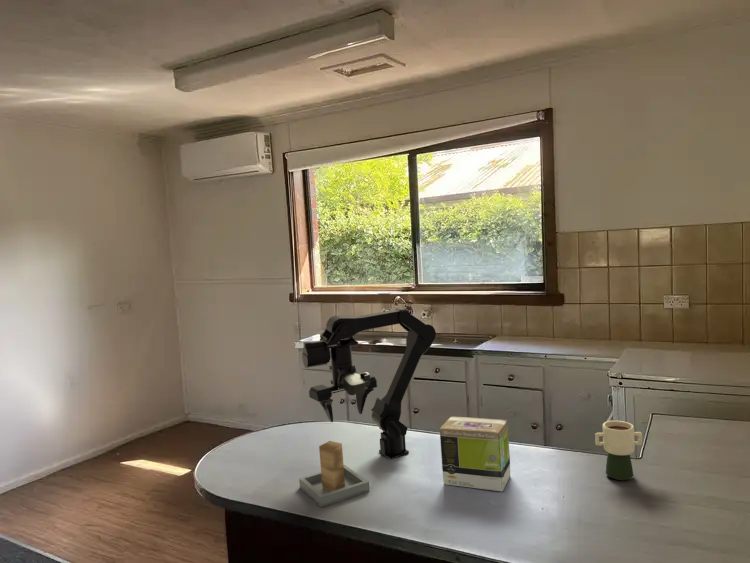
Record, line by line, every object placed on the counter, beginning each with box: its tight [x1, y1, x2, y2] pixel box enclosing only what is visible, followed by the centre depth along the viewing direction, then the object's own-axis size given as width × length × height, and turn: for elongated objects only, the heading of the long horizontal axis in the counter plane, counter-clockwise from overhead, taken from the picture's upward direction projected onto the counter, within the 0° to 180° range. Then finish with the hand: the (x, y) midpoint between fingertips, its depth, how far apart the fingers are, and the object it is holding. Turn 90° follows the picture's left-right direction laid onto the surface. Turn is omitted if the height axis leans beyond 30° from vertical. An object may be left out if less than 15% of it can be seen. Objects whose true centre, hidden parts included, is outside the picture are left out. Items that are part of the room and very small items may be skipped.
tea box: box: [439, 415, 511, 492], centre depth 144 cm, size 15×10×15 cm, turn 65°
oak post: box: [318, 440, 345, 491], centre depth 144 cm, size 4×4×11 cm
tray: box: [299, 464, 370, 508], centre depth 145 cm, size 13×13×2 cm
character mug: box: [594, 420, 643, 481], centre depth 141 cm, size 11×7×13 cm, turn 82°
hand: (346, 417), depth 159 cm, fingers open, 9 cm apart
